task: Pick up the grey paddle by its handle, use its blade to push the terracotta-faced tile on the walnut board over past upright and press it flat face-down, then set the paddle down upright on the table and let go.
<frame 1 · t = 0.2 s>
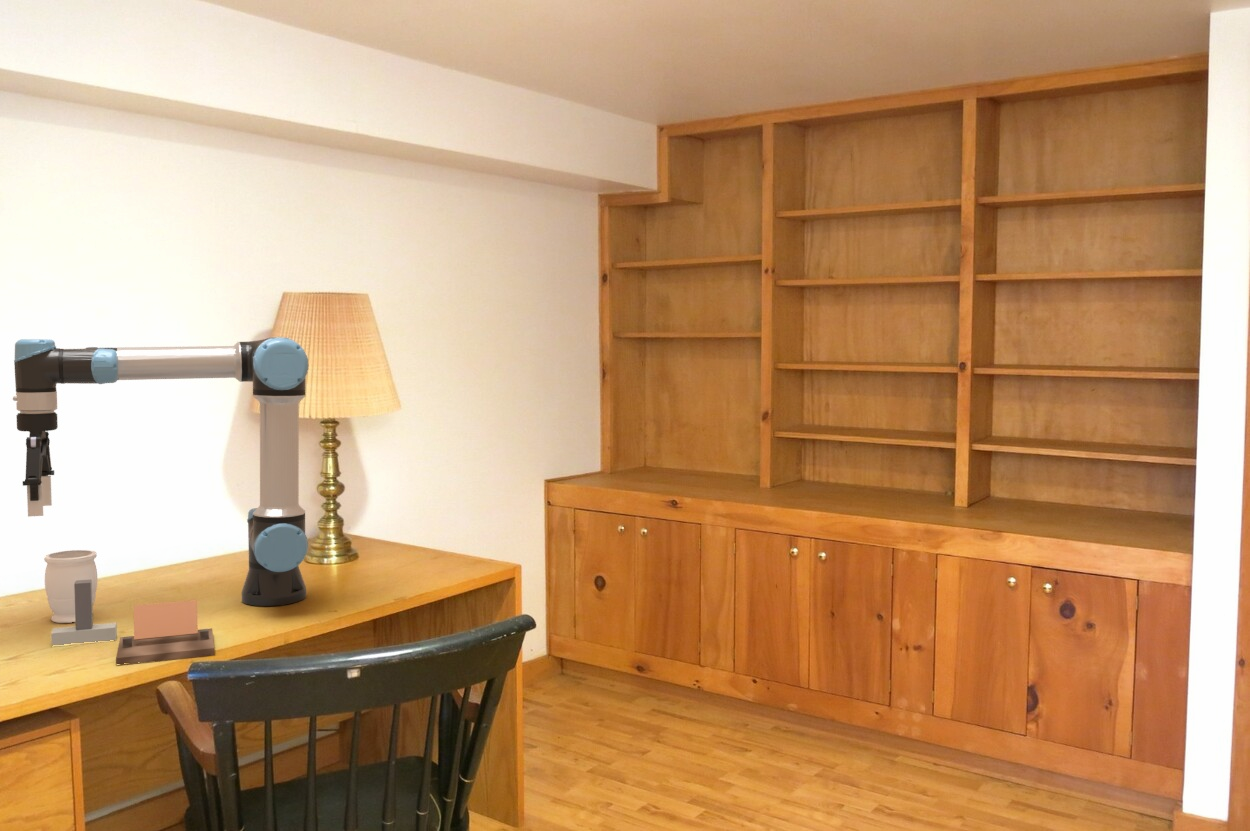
hand: (40, 510, 218), 27 cm above the table, tool pointing down, fingers open, 13 cm apart
jar: (72, 619, 233), on the table
paddle: (84, 641, 216), on the table
board: (166, 649, 211), on the table
tile: (166, 619, 212), point 6 cm above the table, hinge at 65.0°
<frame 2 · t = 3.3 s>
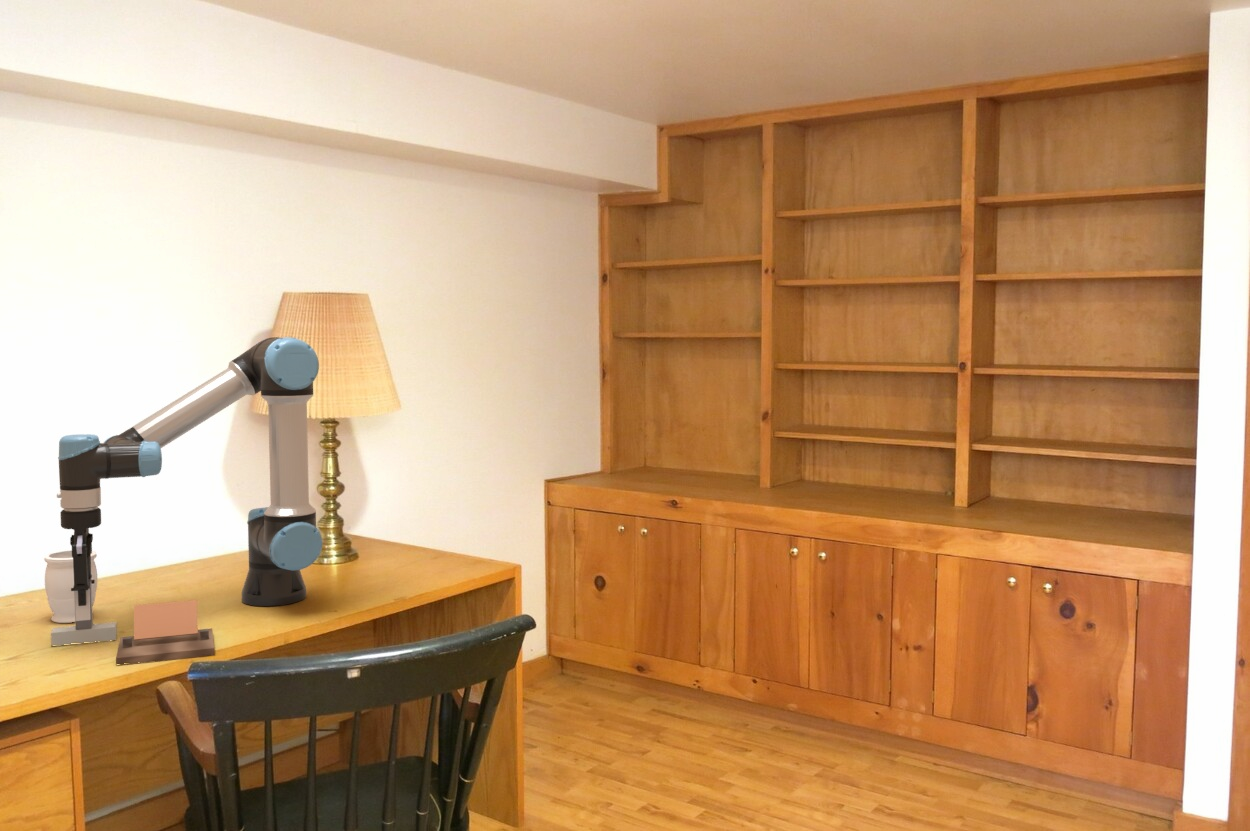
hand: (83, 617, 215), 5 cm above the table, tool pointing down, fingers closed on paddle, 3 cm apart
paddle: (84, 641, 216), on the table, touching gripper
everything else where it was.
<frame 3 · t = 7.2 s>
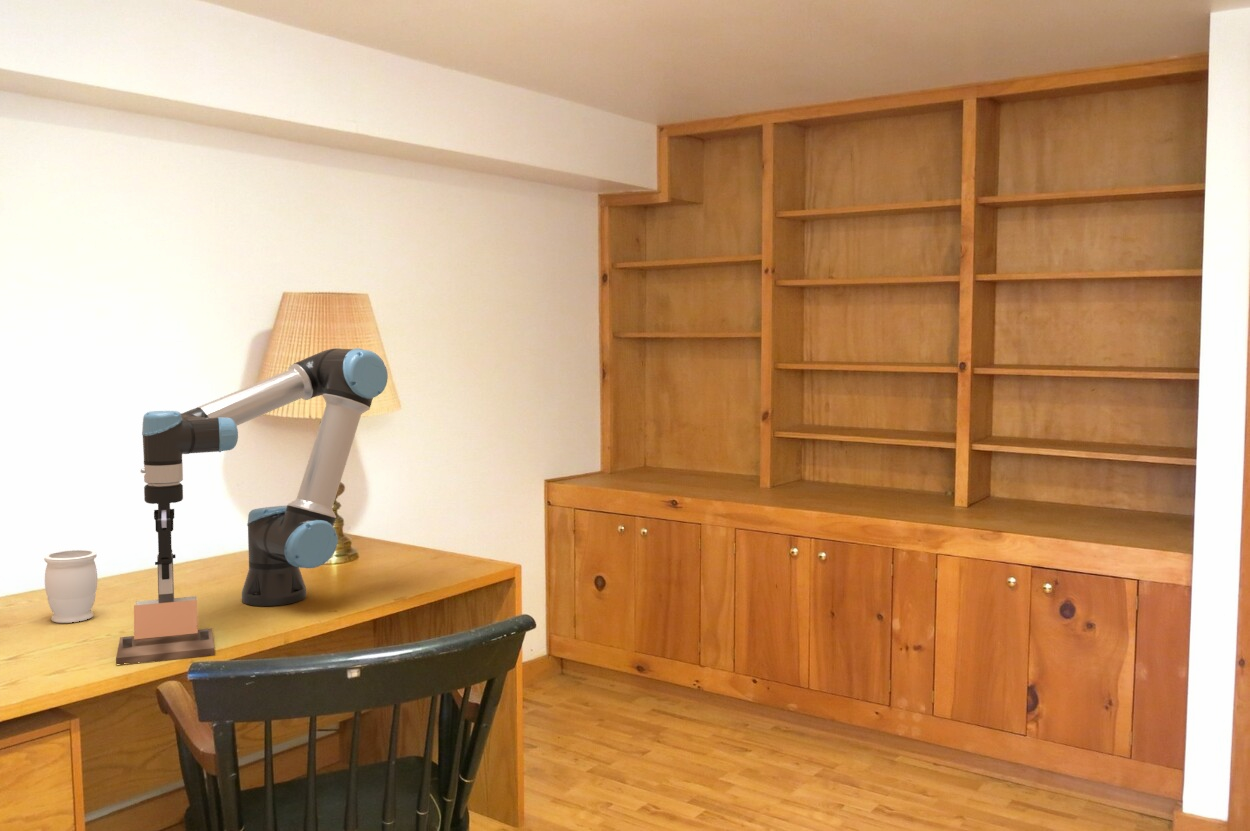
hand: (166, 591, 219), 10 cm above the table, tool pointing down, fingers closed on paddle, 3 cm apart
paddle: (166, 614, 219), point 5 cm above the table, touching gripper
everything else where it was.
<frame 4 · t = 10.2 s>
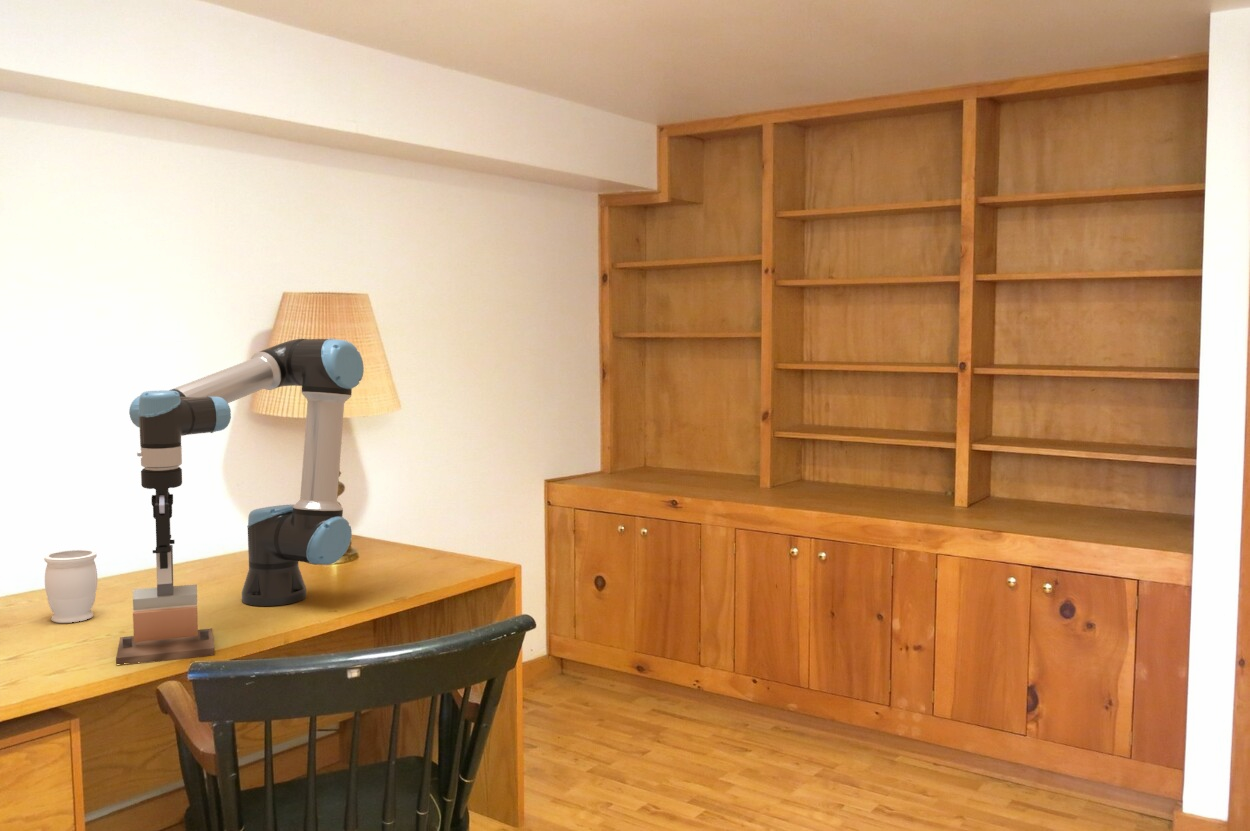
hand: (164, 579, 207), 15 cm above the table, tool pointing down, fingers closed on paddle, 5 cm apart
paddle: (165, 604, 210), point 9 cm above the table, tilted 18°, touching gripper, tile
tile: (165, 623, 209), point 6 cm above the table, hinge at 110.0°, touching paddle
everything else where it was.
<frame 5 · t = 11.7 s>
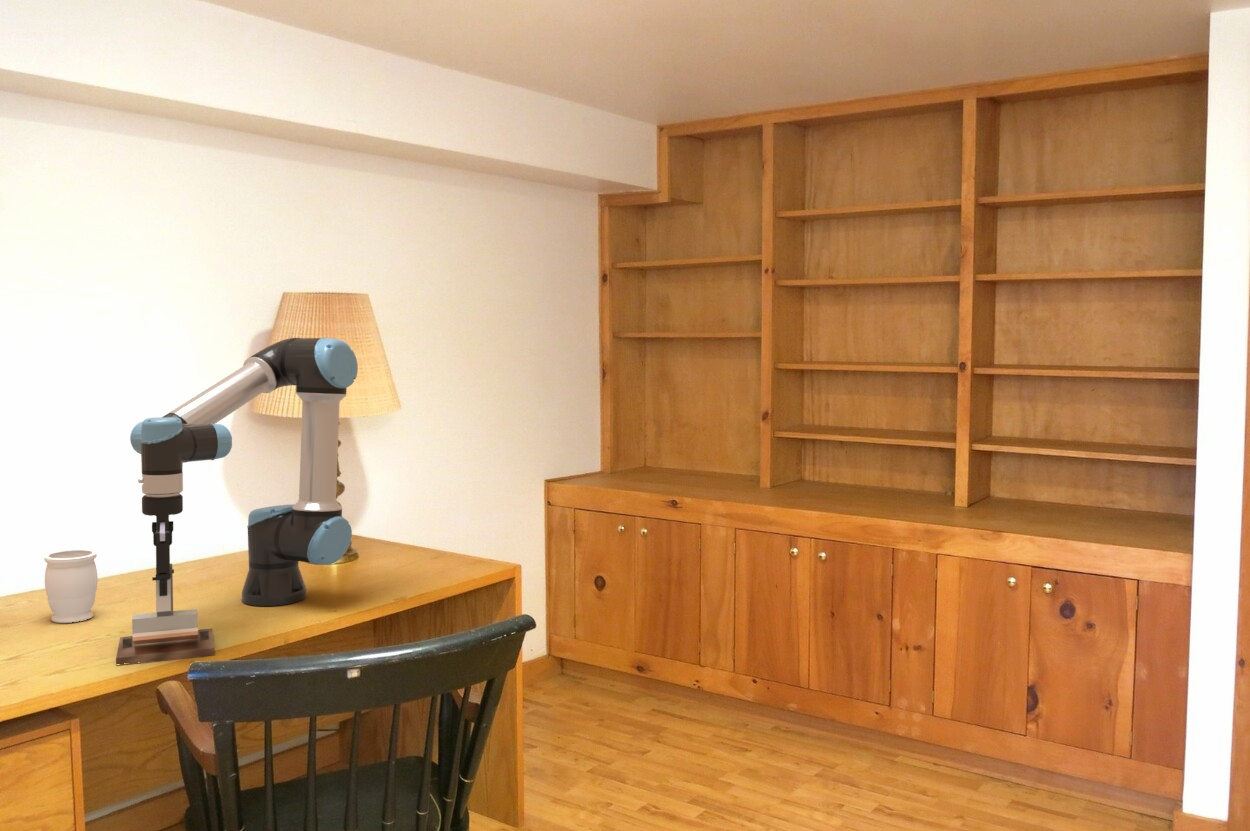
hand: (163, 608, 207), 10 cm above the table, tool pointing down, fingers closed on paddle, 3 cm apart
paddle: (165, 628, 207), point 6 cm above the table, touching gripper, tile
tile: (166, 636, 207), point 4 cm above the table, hinge at 157.8°, touching paddle
everything else where it was.
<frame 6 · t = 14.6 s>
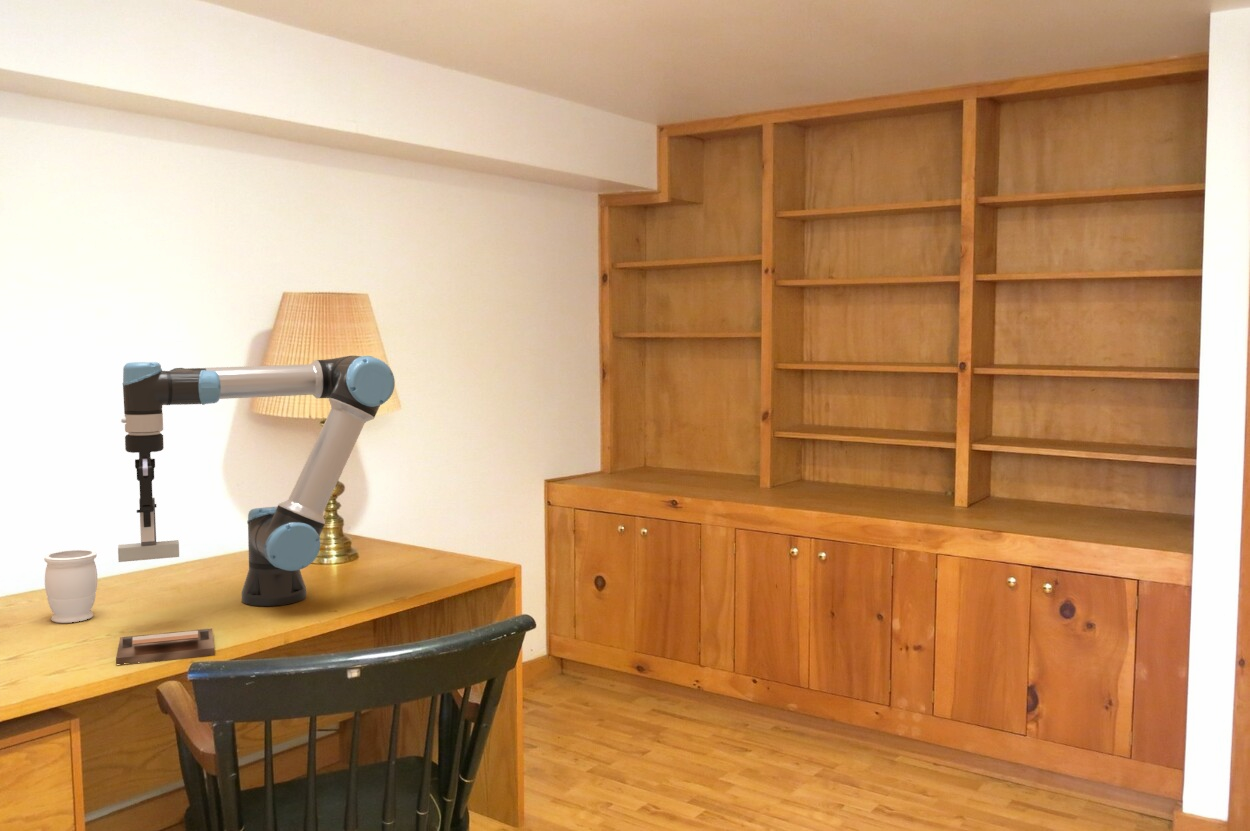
hand: (147, 539, 223), 20 cm above the table, tool pointing down, fingers closed on paddle, 3 cm apart
paddle: (149, 557, 223), point 16 cm above the table, touching gripper
tile: (166, 637, 207), point 4 cm above the table, hinge at 162.6°
everything else where it was.
when the fingers open (6 cm above the table, at t = 17.7 s): paddle drops 2 cm, on the table.
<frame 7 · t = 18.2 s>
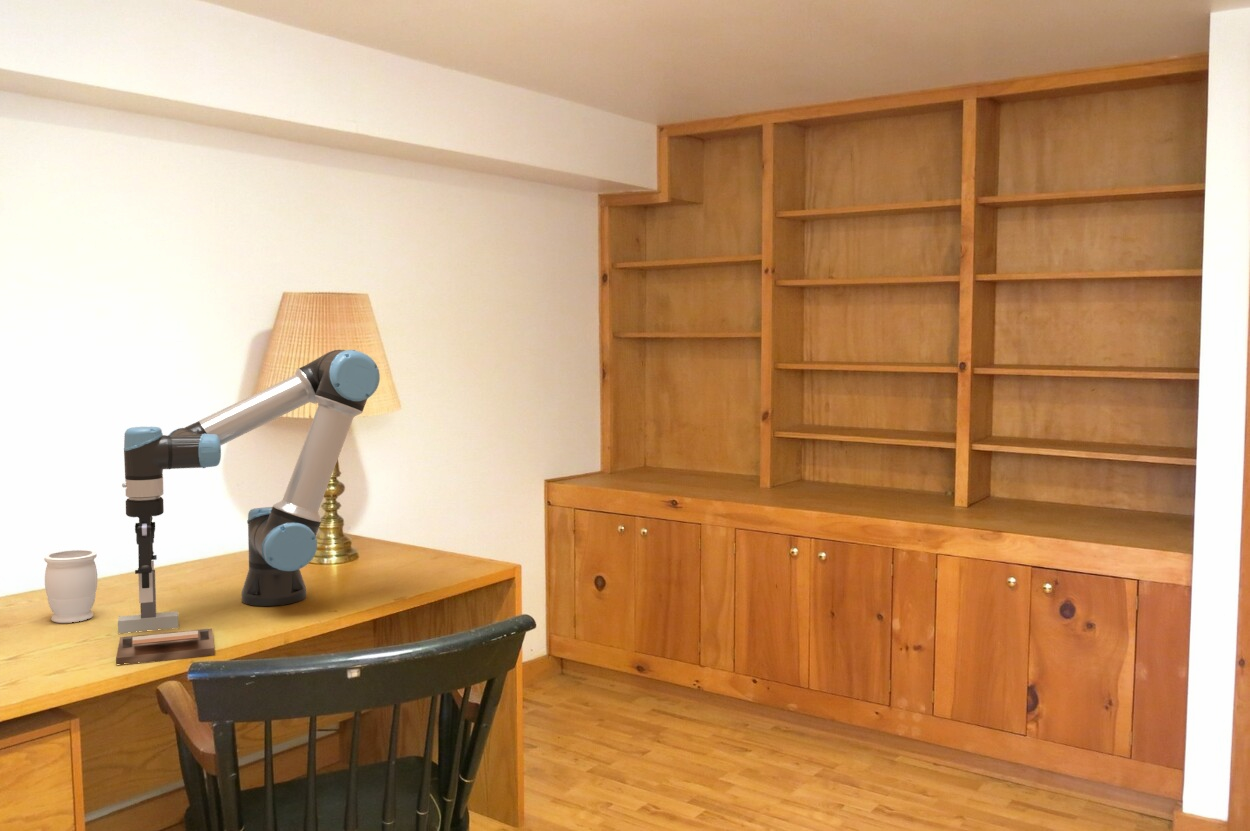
hand: (146, 595, 225), 7 cm above the table, tool pointing down, fingers open, 11 cm apart
paddle: (148, 629, 225), on the table
everything else where it was.
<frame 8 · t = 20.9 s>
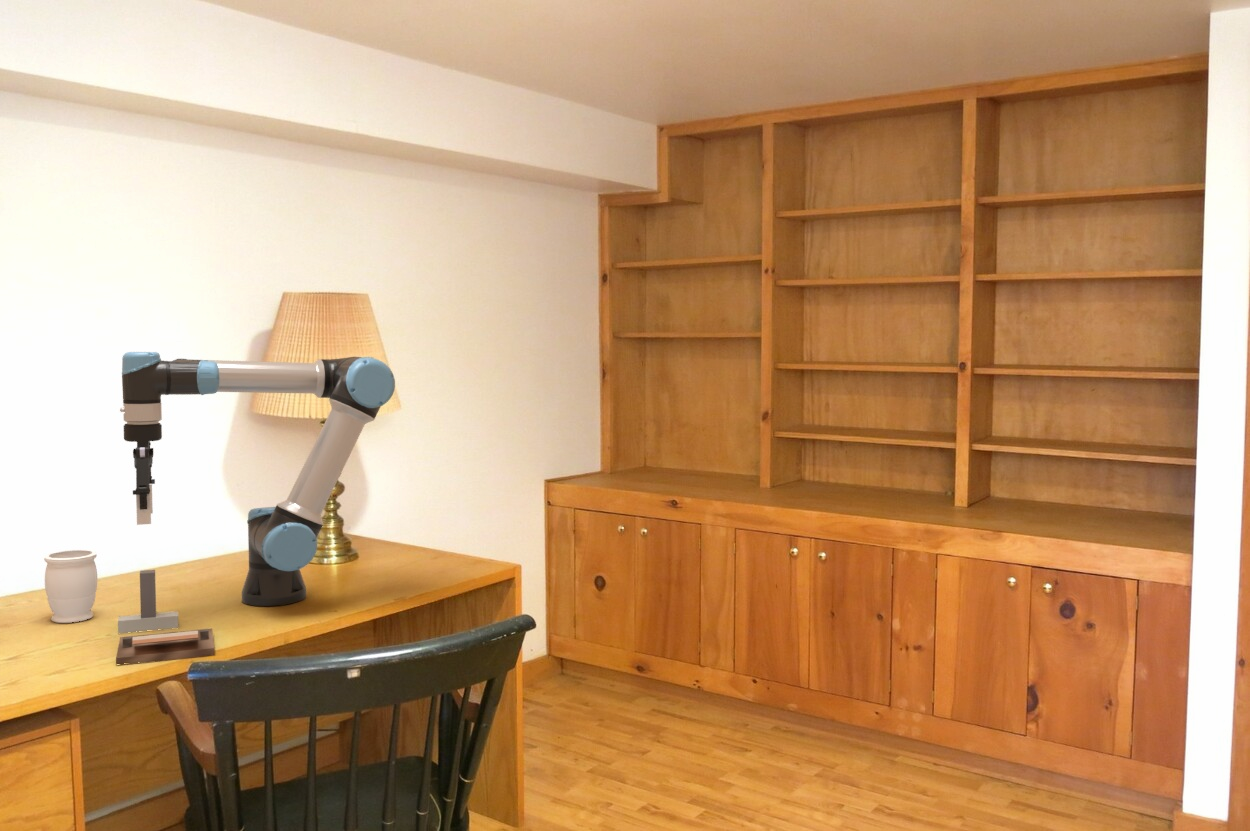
hand: (145, 518, 223), 25 cm above the table, tool pointing down, fingers open, 13 cm apart
nothing on the table moved.
at the end: tile at +163° (first picture: +65°); paddle inside the target area (0.2 cm from its centre), on the table; paddle tilted 0° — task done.
